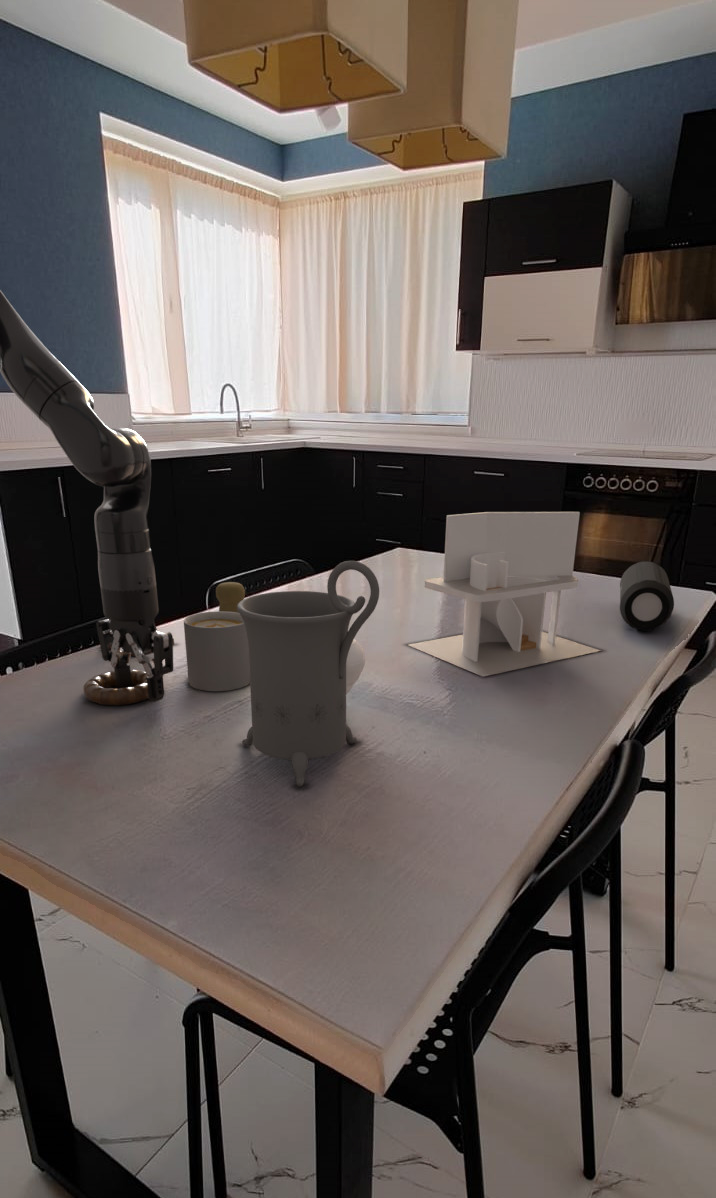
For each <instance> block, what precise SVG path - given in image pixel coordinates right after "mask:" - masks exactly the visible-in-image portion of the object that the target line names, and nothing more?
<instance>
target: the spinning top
mask: <svg viewBox="0 0 716 1198" xmlns="http://www.w3.org/2000/svg"><path fill="white" fill-rule="evenodd" d="M365 663H366V654H365V651H364V649H363V647H362V646H361V644H360V643H359V642H358V641H357V639H356V638H354V640H353V642H352V644H351V647H350V649H349V653H348V656H347V661H346V695H347V694H349V692H350V691H351V689H352V688H353V686H354V685H355V684H356V683H357V682H358V680H359V678H360V676H361V674H362V672H363V670H364V668H365V665H366V664H365Z"/></svg>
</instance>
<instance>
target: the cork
mask: <svg viewBox="0 0 716 1198" xmlns="http://www.w3.org/2000/svg"><path fill="white" fill-rule="evenodd" d="M245 596H246V590H245V587H244V586H243V584H242V583H240V582H235V581H226V582H222V583H219V584H218V585H217V586H216V588H215V597H216V599H217V601H218V602H219V603H218V604H219V606H218V611H225V612H236V613H239V612H238V610H237V605H238V604H239V602H240V601H242V600H244V599H245Z"/></svg>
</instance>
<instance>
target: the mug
mask: <svg viewBox="0 0 716 1198" xmlns="http://www.w3.org/2000/svg"><path fill="white" fill-rule="evenodd" d="M349 570H350V571H357V572H359V573H360V574H361V575H363V576H364V577H365V579H366V580H367V582H368V584H369V585H368V586H369V588H370V589H369V590H370V595H369V599H368V602H367V604H366V606H365V603H366V597H364V596H363V595H359V596H358V597H357V598H356V601H354V600H352V599H350V598H349V597H346V596H343V595H340V594H338V593H337V583H338V579H339V577H340V576H341V575H342V574H343V573H344V572H347V571H349ZM326 587H327V592H324V591H323V592H322V591H313V590H312V591H310V590H284V591H273V592H272V591H271V592H265V593H260V594H256V595H252V596H248V597H246V598H244V599H243V600H242V601H240V602H239V604H238V605H237V610H238V612H239V613H240V615H241V617H242V618H243V621H244V624H245V627H246V632H247V638H248V648H249V667H250V684H249V685H250V686H249V688H250V704H251V705H250V706H251V707H250V708H251V709H250V710H251V726H250V728H249V729H248V731H247V733H246V738H243V739H242V741H241V742H242V744H243V746H251V745H253V747H254V748H255V749H256V750H257V751H258V752H260V753H261V754H263V755H266V756H268V757H271V758H276V759H281V760H289V761H291V765H292V769H293V773H294V776H295V781H296V785H297V786H298V787H302V786H304V783H305V776H306V771H307V768H308V763H309V760H315V759H321V758H325V757H327V756H330V755H333V754H335V753H337V752H338V751H340V750H342V749H343V748H344V746H345V745H346V743H347V744H356V743H357V738H356V736H353V733H352V730H351V728H350V726H349V725H348V724H347V694H346V661H347V656H348V653H349V649H350V647H351V644H352V642H353V640H354V639H356V638H355V637H356V636H357V634H358V632H359V631H360V629H361V628H362V626H363V625H364V624H365V622H366V621H367V620H368V619H369V618H370V617H371V616H372V614H373V613H374V611H375V609H376V607H377V605H378V602H379V599H380V585H379V582H378V579H377V576H376V575H375V573H374V571H373V570H372V569H371V568H370V567H368V566H367V565H366V564H365V563H362V562H360V561H357V560H344V561H343V562H340V563H339V564H337V565H336V566H335V567H334V568H333V569H332V571H330V574H329V576H328V579H327V586H326ZM364 606H365V607H364ZM363 607H364V609H363ZM361 610H362V611H361ZM360 611H361V613H359V612H360ZM357 613H359V615H358V616H357V618H356V619H355V620H354V621H353V623H352V624H351V626H350V622H351V620H352V617H353V615H354V614H357ZM349 627H350V628H349Z"/></svg>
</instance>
